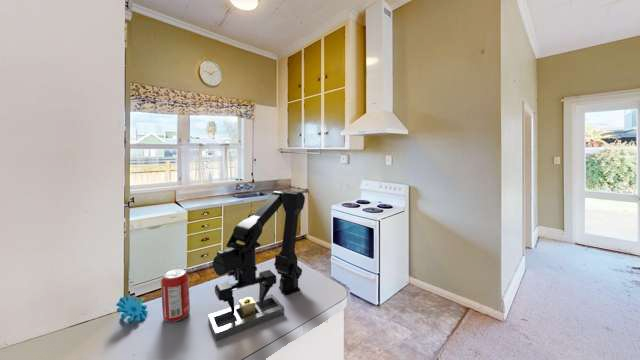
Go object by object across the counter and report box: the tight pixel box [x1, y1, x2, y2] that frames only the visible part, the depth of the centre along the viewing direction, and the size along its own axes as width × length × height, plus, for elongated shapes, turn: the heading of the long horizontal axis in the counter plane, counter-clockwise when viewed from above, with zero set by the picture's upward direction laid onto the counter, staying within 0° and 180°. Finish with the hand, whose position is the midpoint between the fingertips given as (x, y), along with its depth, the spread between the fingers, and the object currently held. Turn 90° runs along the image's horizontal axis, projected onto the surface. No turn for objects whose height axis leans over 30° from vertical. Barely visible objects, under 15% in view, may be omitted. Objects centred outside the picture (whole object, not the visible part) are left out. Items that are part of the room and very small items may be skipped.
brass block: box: [238, 296, 255, 319], centre depth 84 cm, size 4×4×6 cm
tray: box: [208, 293, 285, 342], centre depth 84 cm, size 22×10×2 cm, turn 125°
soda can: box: [160, 268, 191, 322], centre depth 84 cm, size 8×8×15 cm
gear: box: [115, 295, 149, 323], centre depth 83 cm, size 11×6×10 cm
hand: (247, 308), depth 84 cm, fingers open, 9 cm apart
